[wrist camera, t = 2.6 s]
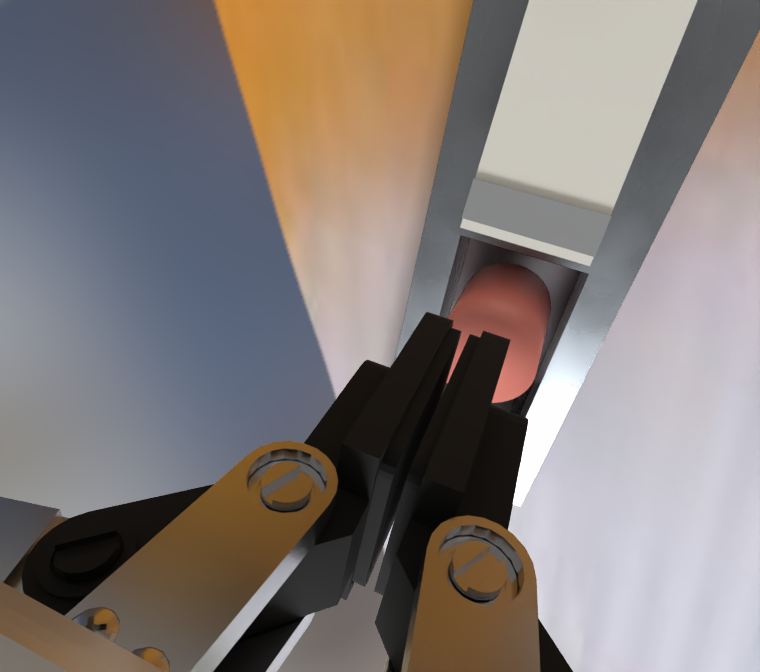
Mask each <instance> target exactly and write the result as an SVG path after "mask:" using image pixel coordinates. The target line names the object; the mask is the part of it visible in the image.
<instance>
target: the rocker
mask: <svg viewBox="0 0 760 672" xmlns="http://www.w3.org/2000/svg"><path fill="white" fill-rule="evenodd" d="M696 3H697V0H529V2H528V6H527V9H526V12H525V15H524V19H523V22H522V25H521V29H520V32H519V35H518V38H517V42H516V45H515V48H514V52H513V55H512V58H511V61H510V65H509V68H508V71H507V75H506V78H505V81H504V85H503V88H502V91H501V94H500V98H499V101H498V104H497V108H496V111H495V114H494V117H493V121H492V124H491V127H490V131H489V134H488V137H487V140H486V144H485V147H484V150H483V154H482V157H481V160H480V163H479V167H478V170H477V173H476V177H475V178H474V179H473V182H472V185H471V189H470V192H469V195H468V199H467V202H466V205H465V208H464V212H463V215H462V218H463V219H462V223H461V226H460V228H464V229H467V230H470V231H474V232H477V233H480V234H484V235H487V236H490V237H494V238H497V239H500V240H504V241H507V242H510V243H514V244H517V245H520V246H524V247H527V248H530V249H534V250H537V251H540V252H544V253H547V254H550V255H554V256H557V257H560V258H564V259H567V260H571V261H574V262H577V263H581V264H584V265H587V266H590V265H591V262H592V260H593V258H594V257H595V256H596V253H597V251H598V248H599V246H600V243H601V241H602V239H603V236H604V234H605V231H606V229H607V226H608V224H609V221H610V219H611V213H612V211H613V208H614V206H615V203H616V201H617V198H618V196H619V193H620V191H621V188H622V186H623V183H624V181H625V178H626V176H627V173H628V171H629V169H630V166H631V164H632V161H633V159H634V156H635V154H636V151H637V149H638V146H639V144H640V141H641V139H642V136H643V134H644V131H645V129H646V127H647V124H648V122H649V119H650V117H651V114H652V112H653V109H654V107H655V104H656V102H657V99H658V97H659V94H660V92H661V89H662V87H663V84H664V82H665V80H666V77H667V75H668V72H669V70H670V67H671V65H672V62H673V60H674V57H675V55H676V52H677V50H678V47H679V45H680V42H681V40H682V38H683V35H684V33H685V30H686V28H687V25H688V23H689V20H690V18H691V15H692V13H693V10H694V8H695V5H696Z"/></svg>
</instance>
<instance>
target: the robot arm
mask: <svg viewBox="0 0 760 672" xmlns="http://www.w3.org/2000/svg"><path fill="white" fill-rule="evenodd" d="M452 327H453V320H451V319H448V318H445V317H442V316H439V315H436V314H433V313H430V312H426V313H425V314H424V316H423V318H422V319H421V321H420V322H419V324H418V325H417V327H416V328H415V330H414V332H413V333H412V335H411V336H410V338H409V339H408V341H407V343H406V344H405V346H404V347H403V349H402V350H401V352H400V353H399V355H398V357H397V358H396V360H395V361H394V363H393V364H392V366H391V368H389V367H386V366H383V365H381V364H378V363H375V362H373V361H370V360H366V361H365V362H364V363H363V364H362V365H361V366H360V368H359V369H358V370H357V372H356V373H355V374H354V376H353V377H352V378H351V380H350V381H349V383H348V384H347V385H346V387H345V388H344V389H343V391H342V392H341V393H340V395H339V396H338V398H337V399H336V400H335V402H334V403H333V404H332V406H331V407H330V409H329V410H328V411H327V413H326V414H325V415H324V417H323V418H322V419H321V421H320V422H319V424H318V425H317V427H316V428H315V429H314V430H313V432H312V433H311V434H310V436H309V437H308V439H307V440H306V441H305V443H299V442H291V441H284V442H273V443H270V444H268V445H264V446H261V447H259V448H257V449H256V450H254V451H253V452H251V453H250V454H248V455H247V456H246V457H245V458H244V459H243V460H241V461H240V462H239V463H238V464H237V465H236V466H235V467H233V468H232V469H231V470H230V471H229V472H228V473H227V474H225V475H224V476H223V477H222V478H221V479H220V480H219V481H217V482H216V483H215V484H213V485H209V486H205V487H200V488H195V489H190V490H187V491H181V492H177V493H173V494H168V495H164V496H159V497H154V498H149V499H145V500H140V501H136V502H132V503H127V504H122V505H118V506H113V507H108V508H104V509H99V510H95V511H90V512H87V513H84V514H81V515H78V516H75V517H72V518H66V517H62V515H61V512H60V509H56V508H51V507H46V506H42V505H37V504H32V503H27V502H23V501H18V500H13V499H9V498H4V497H0V672H277V670H278V669H279V667H280V666H281V664H282V663H283V662H284V660H285V659H286V657H287V656H288V654H289V653H290V652H291V650H292V649H293V647H294V646H295V644H296V643H297V641H298V640H299V639H300V637H301V636H302V634H303V633H304V631H305V630H306V628H307V627H308V626H309V624H310V622H311V620H312V618H313V616H314V614H315V612H318V611H321V610H323V609H326V608H329V607H332V606H335V605H337V604H338V602H339V600H340V598H343V599H345V600H346V599H347V597H348V595H349V593H350V591H351V588H352V586H353V584H354V582H356V583H358V584H360V585H362V586H364V587H365V586H366V584H367V582H368V579H369V577H370V575H371V573H372V570H373V568H374V565H375V563H376V561H377V559H378V556H379V554H380V552H381V550H382V547H383V545H384V543H385V540H386V538H387V536H388V533H389V531H390V529H391V526H392V524H393V522H394V524H393V527H392V531H391V534H390V538H389V541H388V545H387V548H386V552H385V555H384V558H383V562H382V566H381V569H380V572H379V576H378V580H377V583H376V587H375V590H374V591H375V592H377V593H379V594H381V595H383V598H382V602H381V605H380V608H379V611H378V615H377V618H376V621H375V624H376V627H377V629H378V632H379V634H380V636H381V639H382V641H383V644H384V646H385V649H386V651H387V654H388V657H387V660H386V662H385V668H384V672H573V671H572V669H571V668H570V666H569V665H568V663H567V662H566V660H565V659H564V657H563V656H562V654H561V653H560V651H559V649H558V648H557V646H556V645H555V643H554V642H553V640H552V639H551V637H550V636H549V634H548V632H547V631H546V629H545V628H544V626H543V625H542V623H541V622H540V620H539V619H538V606H537V583H536V575H535V570H534V566H533V562H532V560H531V558H530V556H529V554H528V553H527V551H526V549H525V547H524V546H523V545H522V544H521V543H520V542H519V540H518V539H517V538H516V537H515V536H514V535H513V534H512V533H511V532H509V531H508V526H509V521H510V516H511V511H512V505H513V500H514V495H515V490H516V485H517V480H518V475H519V470H520V464H521V459H522V454H523V449H524V444H525V439H526V434H527V429H528V422H529V420H528V418H526V417H523V416H520V415H517V414H515V413H512V412H509V411H506V410H504V409H501V408H498V407H496V406H493V405H491V403H492V400H493V396H494V393H495V390H496V387H497V383H498V380H499V377H500V374H501V370H502V367H503V364H504V360H505V357H506V354H507V351H508V347H509V344H510V341H511V340H510V339H507V338H504V337H501V336H498V335H495V334H492V333H489V332H486V331H483V332H482V335H481V337H478V336H475V335H472V334H470V335H469V337H468V339H467V341H466V344H465V346H464V348H463V350H462V353H461V355H460V357H459V359H458V362H457V364H456V366H455V368H454V370H453V373H452V375H451V377H450V379H449V382H448V384H447V386H446V388H445V385H446V382H447V379H448V376H449V372H450V369H451V366H452V362H453V359H454V356H455V353H456V349H457V346H458V343H459V339H460V336H461V331H460V330H457V329H454V328H452ZM444 389H445V391H444ZM443 392H444V393H443Z"/></svg>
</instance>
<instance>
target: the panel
mask: <svg viewBox="0 0 760 672" xmlns="http://www.w3.org/2000/svg"><path fill="white" fill-rule="evenodd" d="M528 2H529V0H474V1H473V5H472V10H471V14H470V19H469V23H468V28H467V33H466V37H465V42H464V46H463V51H462V55H461V60H460V65H459V69H458V74H457V78H456V83H455V88H454V92H453V97H452V101H451V106H450V110H449V115H448V120H447V124H446V129H445V133H444V138H443V142H442V147H441V152H440V156H439V161H438V165H437V170H436V175H435V179H434V184H433V188H432V193H431V197H430V202H429V207H428V211H427V216H426V220H425V225H424V229H423V234H422V239H421V243H420V248H419V252H418V257H417V261H416V266H415V271H414V275H413V280H412V284H411V289H410V294H409V298H408V303H407V307H406V312H405V316H404V321H403V326H402V330H401V335H400V339H399V344H398V348H397V353H396V358H397V357H398V355H399V353H400V352H401V350H402V349H403V347H404V346H405V344H406V343H407V341H408V339H409V338H410V336H411V335H412V333H413V332H414V330H415V328H416V327H417V325H418V324H419V322H420V321H421V319H422V318H423V316H424V314H425V313H426V312H430V313H433V314H436V315H439V316H442V317H445V318H448V316H449V312H450V308H451V305H452V301H453V298H454V294H455V290H456V287H457V283H458V280H459V276H460V272H461V269H462V265H463V261H464V258H465V254H466V251H467V247H468V243H469V240H470V238H472V239H475V240H479V241H482V242H485V243H489V244H492V245H495V246H498V247H502V248H505V249H508V250H512V251H515V252H518V253H522V254H525V255H528V256H532V257H535V258H538V259H541V260H545V261H548V262H551V263H555V264H558V265H561V266H565V267H568V268H571V269H574V270H578V271H581V273H580V276H579V278H578V280H577V283H576V285H575V287H574V290H573V292H572V294H571V297H570V299H569V301H568V303H567V306H566V308H565V310H564V313H563V315H562V317H561V320H560V322H559V324H558V327H557V329H556V331H555V334H554V336H553V338H552V341H551V343H550V345H549V348H548V350H547V352H546V355H545V357H544V359H543V362H542V364H541V366H540V369H539V371H538V373H537V376H536V378H535V380H534V383H533V385H532V387H531V390H530V392H529V394H528V397H527V399H526V401H525V403H524V406H523V408H522V410H521V413H520V416H523V417H526V418H528V420H529V422H528V429H527V434H526V439H525V444H524V449H523V454H522V459H521V464H520V470H519V475H518V480H517V485H516V490H515V495H514V500H513V504H515V505H517V506H521V504H522V502H523V500H524V498H525V496H526V494H527V492H528V490H529V488H530V486H531V484H532V482H533V480H534V478H535V476H536V474H537V472H538V470H539V468H540V466H541V464H542V462H543V460H544V458H545V456H546V454H547V452H548V450H549V448H550V446H551V444H552V442H553V440H554V438H555V436H556V434H557V432H558V430H559V428H560V426H561V424H562V422H563V420H564V418H565V416H566V414H567V412H568V410H569V408H570V406H571V404H572V402H573V400H574V398H575V396H576V394H577V392H578V391H579V389H580V387H581V385H582V383H583V381H584V379H585V377H586V375H587V373H588V371H589V369H590V367H591V365H592V363H593V361H594V359H595V357H596V355H597V353H598V351H599V349H600V347H601V345H602V343H603V341H604V339H605V337H606V335H607V333H608V331H609V329H610V327H611V325H612V323H613V321H614V319H615V317H616V315H617V313H618V311H619V309H620V307H621V305H622V303H623V301H624V299H625V297H626V295H627V293H628V291H629V289H630V287H631V285H632V283H633V281H634V279H635V277H636V275H637V273H638V271H639V269H640V267H641V265H642V263H643V261H644V259H645V257H646V255H647V253H648V251H649V249H650V247H651V245H652V243H653V241H654V239H655V237H656V235H657V233H658V231H659V229H660V227H661V225H662V223H663V221H664V219H665V217H666V215H667V213H668V211H669V209H670V207H671V205H672V203H673V201H674V199H675V197H676V195H677V193H678V191H679V189H680V187H681V185H682V183H683V181H684V179H685V177H686V175H687V174H688V172H689V170H690V168H691V166H692V164H693V162H694V160H695V158H696V156H697V154H698V152H699V150H700V148H701V146H702V144H703V142H704V140H705V138H706V136H707V134H708V132H709V130H710V128H711V126H712V124H713V122H714V120H715V118H716V116H717V114H718V112H719V110H720V108H721V106H722V104H723V102H724V100H725V98H726V96H727V94H728V92H729V90H730V88H731V86H732V84H733V82H734V80H735V78H736V76H737V74H738V72H739V70H740V68H741V66H742V64H743V62H744V60H745V58H746V56H747V54H748V52H749V50H750V48H751V46H752V44H753V42H754V40H755V38H756V36H757V34H758V32H759V30H760V0H697V3H696V5H695V8H694V10H693V13H692V15H691V18H690V20H689V23H688V25H687V28H686V30H685V33H684V35H683V38H682V40H681V42H680V45H679V47H678V50H677V52H676V55H675V57H674V60H673V62H672V65H671V67H670V70H669V72H668V75H667V77H666V80H665V82H664V84H663V87H662V89H661V92H660V94H659V97H658V99H657V102H656V104H655V107H654V109H653V112H652V114H651V117H650V119H649V122H648V124H647V127H646V129H645V131H644V134H643V136H642V139H641V141H640V144H639V146H638V149H637V151H636V154H635V156H634V159H633V161H632V164H631V166H630V169H629V171H628V173H627V176H626V178H625V181H624V183H623V186H622V188H621V191H620V193H619V196H618V198H617V201H616V203H615V206H614V208H613V211H612V213H611V219H610V221H609V224H608V226H607V229H606V231H605V234H604V236H603V239H602V241H601V243H600V246H599V248H598V251H597V253H596V256H595V257H594V258H593V260H592V262H591V265H590V266H587V265H584V264H581V263H577V262H574V261H571V260H567V259H564V258H560V257H557V256H554V255H550V254H547V253H544V252H540V251H537V250H534V249H530V248H527V247H524V246H520V245H517V244H514V243H510V242H507V241H504V240H500V239H497V238H494V237H490V236H487V235H484V234H480V233H477V232H474V231H470V230H467V229H464V228H460V226H461V223H462V219H463V218H462V215H463V212H464V208H465V205H466V202H467V199H468V195H469V192H470V189H471V185H472V182H473V179H474V178H475V177H476V173H477V170H478V167H479V163H480V160H481V157H482V154H483V150H484V147H485V144H486V140H487V137H488V134H489V131H490V127H491V124H492V121H493V117H494V114H495V111H496V108H497V104H498V101H499V98H500V94H501V91H502V88H503V85H504V81H505V78H506V75H507V71H508V68H509V65H510V61H511V58H512V55H513V52H514V48H515V45H516V42H517V38H518V35H519V32H520V29H521V25H522V22H523V19H524V15H525V12H526V9H527V6H528ZM396 358H395V360H396Z"/></svg>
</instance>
